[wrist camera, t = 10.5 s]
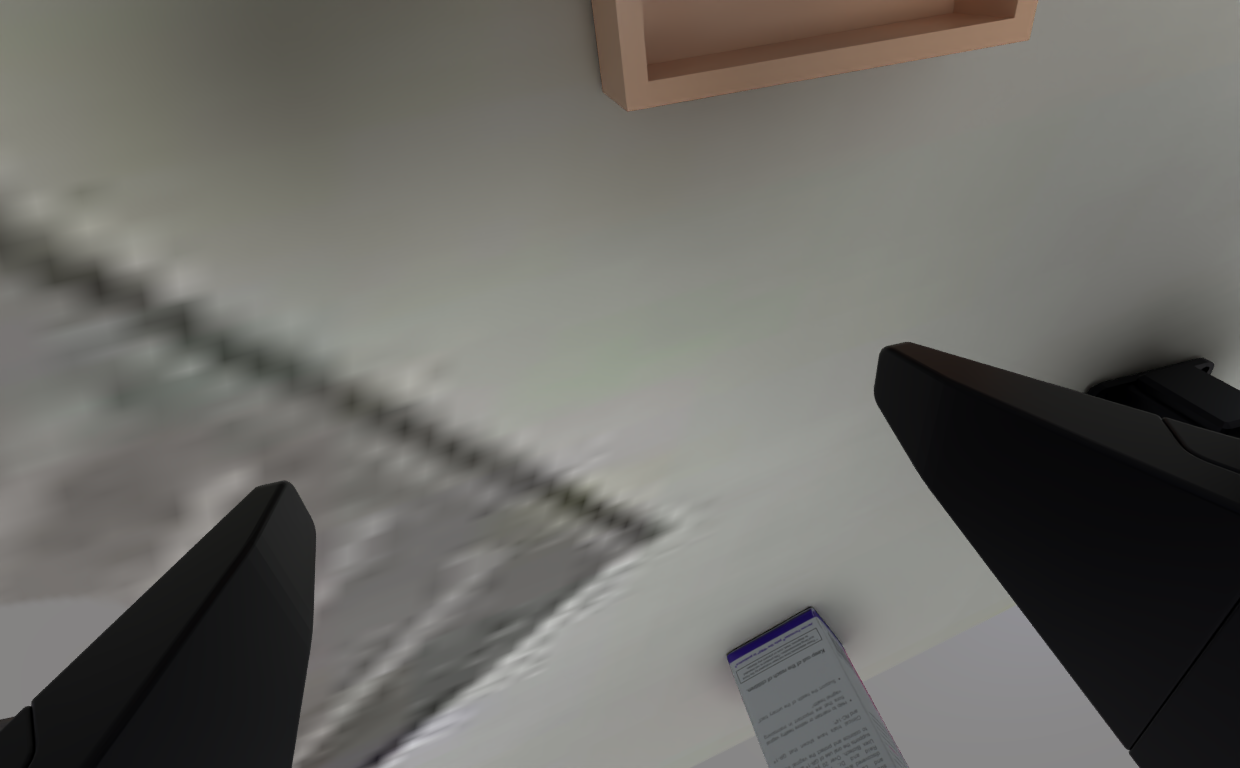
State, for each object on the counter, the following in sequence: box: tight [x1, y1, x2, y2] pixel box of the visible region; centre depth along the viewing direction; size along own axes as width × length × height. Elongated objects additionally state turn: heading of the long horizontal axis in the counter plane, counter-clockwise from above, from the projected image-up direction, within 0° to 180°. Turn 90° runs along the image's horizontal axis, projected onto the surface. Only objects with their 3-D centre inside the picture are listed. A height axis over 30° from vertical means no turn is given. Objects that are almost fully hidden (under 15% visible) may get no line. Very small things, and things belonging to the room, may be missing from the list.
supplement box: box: [727, 608, 909, 768], centre depth 32 cm, size 6×6×11 cm
